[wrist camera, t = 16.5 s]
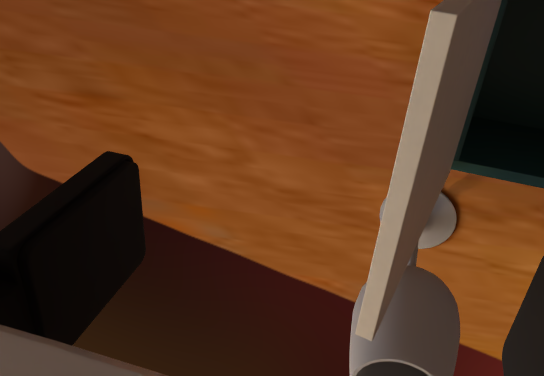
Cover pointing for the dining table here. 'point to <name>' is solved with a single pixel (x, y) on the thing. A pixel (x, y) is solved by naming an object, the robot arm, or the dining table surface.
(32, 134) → the dining table surface
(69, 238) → the robot arm
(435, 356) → the wineglass
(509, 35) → the dark green open box
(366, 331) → the cooler lid
